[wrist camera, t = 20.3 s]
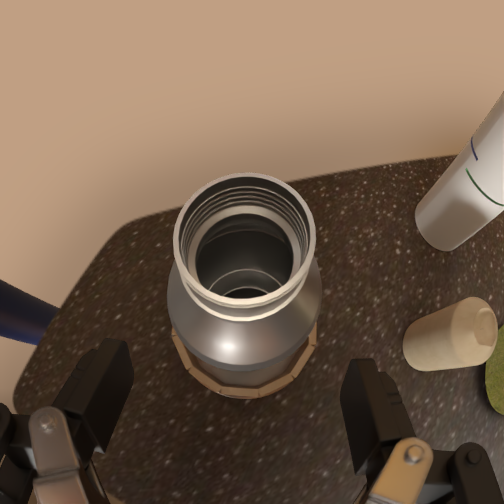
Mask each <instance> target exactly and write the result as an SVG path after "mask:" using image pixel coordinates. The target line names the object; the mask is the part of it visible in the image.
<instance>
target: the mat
mask: <svg viewBox="0 0 504 504" xmlns="http://www.w3.org/2000/svg"><path fill="white" fill-rule="evenodd" d="M485 384H486V391H487V395H488V398H489V401H490V403H491V405H492V407H493V408H494V409H495V411H497V412H498V413H500V414H502V415H504V325H503V326H502V327H500V329H499V331H498V337H497V342H496V346H495V348H494V351H493V353H492V354H491V356H490V357H489V358H488V359H487V361H486V370H485Z"/></svg>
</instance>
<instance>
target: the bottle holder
mask: <svg viewBox="0 0 504 504" xmlns="http://www.w3.org/2000/svg"><path fill="white" fill-rule="evenodd" d="M172 335H174V336H173V337H172V339H173V341H174V343H175V346H176V348H177V350H178V352H179V355H180V357H181V359H182V361H183V364H184V366H185V368H186V369H188V370H189V371H188V372H189V373H190V374H192V375H193V376H194V377H195V378H196V379H197V380H198V381H199V382H201V383H202V384H203V385H204V386H206V387H207V388H209V389H210V390H212V391H214V392H216V393H219V394H221V395H224V396H227V397H231V398H238V399H252V398H259V397H263V396H267V395H270V394H272V393H274V392H277V391H278V390H280V389H282V388H284V387H285V386H286V385H288V384H289V383H290V382H291V381H293V380H294V378H296V377H297V376H298V374H299V373H300V371H301V370H302V369H303V367H304V365H305V364H306V362H307V360H308V359H309V357H310V356H311V354H312V352H313V351H314V349H315V347H314V345H316V335H317V321H316V323H315V326H314V328H313V330H312V331H311V333H310V334H309V336H308V337H307V339H306V341H305V342H304V343H303V344H302V345H301V346H300V347H299V348H298V349H297V350H296V351H295V352H294V353H293V354H291V355H290V356H288V357H287V358H285V359H284V360H282V361H281V362H279V363H276V364H274V365H272V366H269V367H267V368H263V369H258V370H253V371H230V370H226V369H221V368H217V367H215V366H213V365H211V364H208V363H206V362H204V361H202V360H201V359H200V358H198V357H197V356H195V355H194V354H193V353H191V352H190V351H189V350H188V348H187V347H186V346H185V345H184V344H183V343H182V341H181V340H180V339H179V337H178V335H177V333H176V332H175V330H174V328H173V326H172Z"/></svg>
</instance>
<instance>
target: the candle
mask: <svg viewBox="0 0 504 504" xmlns="http://www.w3.org/2000/svg"><path fill="white" fill-rule="evenodd" d="M497 337H498V326H497V320H496V317H495V314H494V312H493V311H492V309H491V308H490V306H489V305H488V304H487V303H486V302H485V301H484V300H482V299H480V298H477V297H469V298H466V299H464V300H462V301H460V302H457V303H455V304H453V305H451V306H448V307H446V308H444V309H441V310H439V311H437V312H434V313H432V314H429V315H427V316H425V317H422V318H420V319H418V320H416V321H414V322H413V323H412V324H411V325H410V326H409V327H408V329H407V330H406V332H405V335H404V338H403V353H404V356H405V359H406V360H407V362H408V363H409V365H410V366H412V367H413V368H414V369H417V370H420V371H434V370H444V369H452V368H461V367H468V366H475V365H480V364H482V363H484V362H485V361H487V359H488V358H489V357H490V356H491V354H492V353H493V351H494V348H495V346H496V342H497Z"/></svg>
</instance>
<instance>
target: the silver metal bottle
mask: <svg viewBox="0 0 504 504" xmlns="http://www.w3.org/2000/svg"><path fill="white" fill-rule="evenodd" d="M315 241H316V235H315V224H314V221H313V217H312V214H311V212H310V210H309V208H308V206H307V204H306V202H305V201H304V200H303V199H302V197H301V196H300V195H299V194H298V193H297V192H296V191H295V190H294V189H293V188H291V187H290V186H289V185H287V184H286V183H284V182H282V181H280V180H279V179H276V178H273V177H271V176H268V175H263V174H258V173H236V174H230V175H226V176H223V177H220V178H218V179H215V180H213V181H211V182H210V183H208V184H206V185H204V186H203V187H202V188H201V189H199V190H198V191H197V192H195V193H194V195H193V196H192V197H191V198H190V199H189V200H188V201H187V202H186V204H185V205H184V207H183V209H182V210H181V212H180V214H179V216H178V219H177V222H176V224H175V229H174V236H173V244H174V256H175V261H174V263H173V266H172V269H171V272H170V275H169V282H168V290H167V303H168V313H169V316H170V319H171V323H172V326H173V328H174V330H175V332H176V333H177V335H178V337H179V339H180V340H181V341H182V343H183V344H184V345H185V346H186V347H187V348H188V350H189V351H190V352H191V353H193V354H194V355H195V356H197V357H198V358H200V359H201V360H202V361H204V362H206V363H208V364H211V365H213V366H215V367H217V368H221V369H226V370H230V371H253V370H258V369H263V368H267V367H269V366H272V365H274V364H276V363H279V362H281V361H282V360H284V359H285V358H287V357H288V356H290V355H291V354H293V353H294V352H295V351H296V350H297V349H298V348H299V347H300V346H301V345H302V344H303V343H304V342H305V341H306V339H307V337H308V336H309V334H310V333H311V331H312V330H313V328H314V326H315V323H316V321H317V318H318V316H319V313H320V307H321V302H322V282H321V277H320V272H319V268H318V264H317V261H316V259H315V257H314V249H315Z"/></svg>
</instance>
